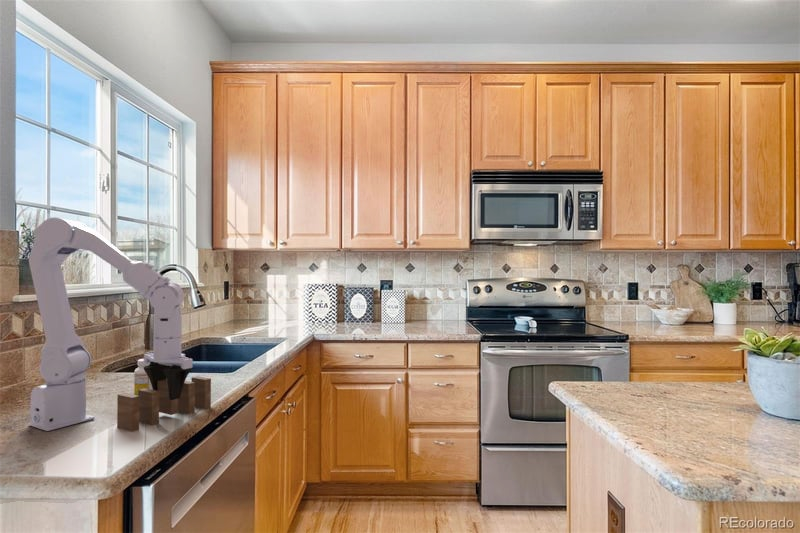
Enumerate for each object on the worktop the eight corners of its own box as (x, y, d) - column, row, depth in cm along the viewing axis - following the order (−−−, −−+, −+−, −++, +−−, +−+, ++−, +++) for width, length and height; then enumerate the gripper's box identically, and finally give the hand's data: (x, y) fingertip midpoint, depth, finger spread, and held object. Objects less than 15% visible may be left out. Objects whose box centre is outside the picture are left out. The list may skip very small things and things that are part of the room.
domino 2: (152, 425, 102) (152, 392, 102) (137, 421, 104) (138, 389, 104) (159, 423, 103) (159, 391, 103) (144, 419, 106) (144, 388, 106)
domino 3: (171, 415, 106) (171, 383, 106) (157, 411, 108) (157, 380, 108) (177, 413, 107) (177, 382, 107) (163, 409, 110) (163, 379, 110)
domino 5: (205, 409, 114) (205, 379, 114) (191, 406, 116) (191, 377, 116) (210, 407, 115) (210, 378, 115) (196, 404, 118) (197, 376, 118)
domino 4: (188, 414, 110) (188, 383, 110) (174, 411, 112) (174, 381, 112) (194, 412, 111) (194, 382, 111) (180, 409, 114) (180, 380, 114)
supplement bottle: (152, 392, 128) (152, 356, 128) (161, 396, 125) (161, 359, 125) (130, 397, 124) (130, 359, 124) (139, 400, 121) (139, 362, 121)
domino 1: (131, 431, 98) (131, 397, 98) (117, 427, 100) (117, 394, 100) (139, 429, 99) (139, 395, 99) (124, 425, 102) (125, 392, 102)
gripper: (204, 337, 108) (203, 397, 108) (163, 332, 115) (163, 389, 115) (176, 341, 102) (176, 405, 102) (135, 336, 109) (134, 396, 109)
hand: (167, 397), depth 108 cm, fingers closed on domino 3, 5 cm apart
